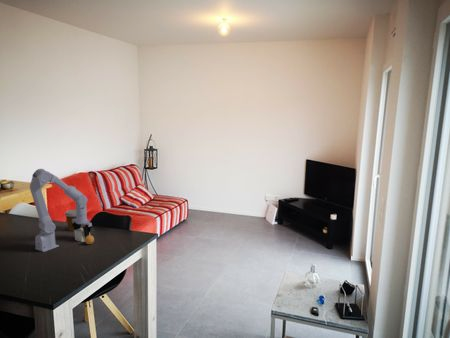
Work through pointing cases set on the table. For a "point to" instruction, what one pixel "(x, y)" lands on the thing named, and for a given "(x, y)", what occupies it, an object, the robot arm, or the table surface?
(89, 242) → the ball
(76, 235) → the pale grey cube
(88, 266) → the table surface
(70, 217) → the disposable coffee cup
